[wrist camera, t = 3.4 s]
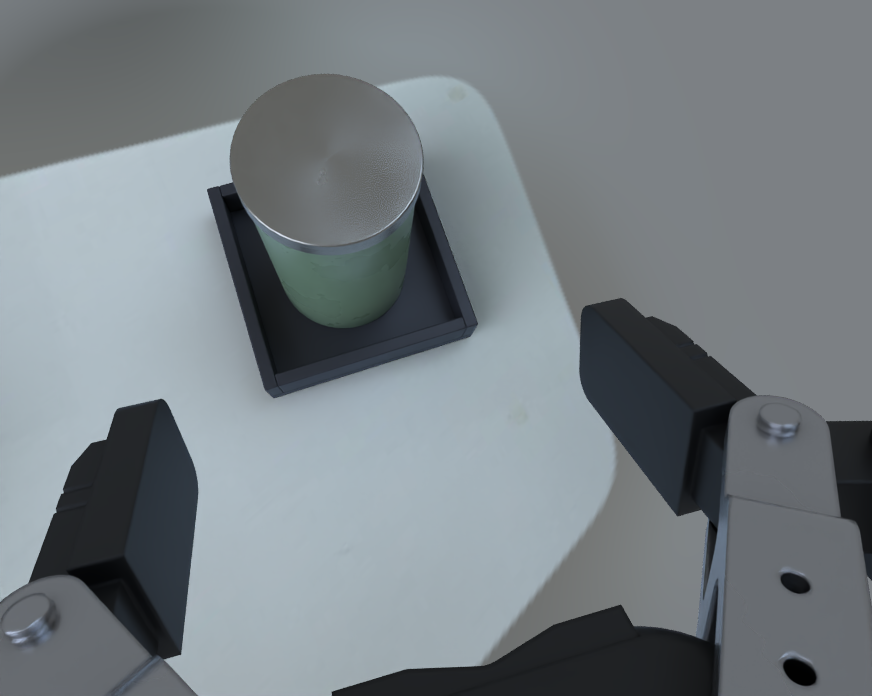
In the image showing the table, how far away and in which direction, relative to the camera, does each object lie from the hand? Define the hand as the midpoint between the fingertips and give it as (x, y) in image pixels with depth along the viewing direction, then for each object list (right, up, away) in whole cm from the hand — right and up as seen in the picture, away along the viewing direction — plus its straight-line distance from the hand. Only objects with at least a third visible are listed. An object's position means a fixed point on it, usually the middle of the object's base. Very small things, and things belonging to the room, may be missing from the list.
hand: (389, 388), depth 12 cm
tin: (-3, +4, +14) cm, 15 cm away
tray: (-3, +4, +15) cm, 16 cm away
